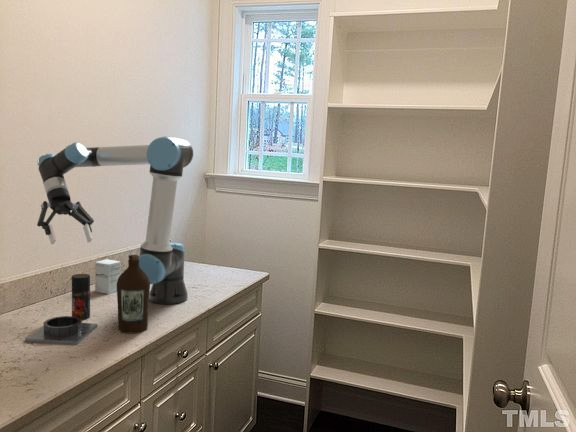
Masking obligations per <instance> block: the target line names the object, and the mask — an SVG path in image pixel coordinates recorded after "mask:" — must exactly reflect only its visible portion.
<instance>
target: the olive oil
mask: <svg viewBox="0 0 576 432" xmlns="http://www.w3.org/2000/svg"><path fill="white" fill-rule="evenodd" d="M127 264H128V267H127V268H126V269H125V270H124V271H123V272H122V273H120V276H119V278H118V281H117V292H116V298H117V299H116V300H117V325H118V328H117V329H118V331H119V332H121V333H126V334H137V333H142V332H145V331H146V330H147V329H148V326H149V324H148V323H149V307H150V306H149V304H150V300H149V293H150V290H151V284H150V281H149V278H148V276H147V275H146V273H145V272H144V271H143V270H142V269H141V268H140V267H139V255H138V254H130V255H128V263H127Z"/></svg>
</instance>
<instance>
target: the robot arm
mask: <svg viewBox="0 0 576 432" xmlns="http://www.w3.org/2000/svg"><path fill="white" fill-rule="evenodd" d="M193 158H194V149H193V147H192V145H191V143H190V142H189V141H188V140H186V139H185V138H181V137H174V136H173V137H172V136H161V137H157V138H155V139H154V140H152V141H151V142H150V143H149V144H143V145H142V144H141V145H123V146H121V145H120V146H117V145H116V146H101V147H99V146H98V147H97V146H96V147H85V145H83V144H82V143H80V142H76V141H75V142H73V143H71V144H68V145H67V146H66V147H65V148H64V149H61V150H60V151H59V152H58V153H56V154H54V153H46V154H42V155H41V156H39V158H38V159H39V163H38V162H37V167H38V166H39V167H38V172H39V173H40V177H41V179H42V183H43V187H44V190H45V194H46V197H47V201H46V200H44V201H43V202H42V203H41V204H40V205H41V206H40V207H41V211H40V214H39V217H38V221H37V223H36V226H37V227H41V229H42V230H44V233H45V235H46V236H48V237H49V238H48V240H49V242H50V245H54V244H55V243H56V242H57V238H56V234H55V232H54V228H53V225H52V223H51V222H52V220H53V219H54V217H55V216H56V214H57V215H60V216H62V215H68V216H70V217H72V218H73V219H75V220H76V221H77V222H78V223H80V224H81V225H82V226H83V227H82V230H83V232H84V235H85V238H86V241H87V243H91V241H92V240H93V238H94V237H93V235H92V232H93V229H92V225H93V224H94V222H95V219H94V218H93V217H92V216H91V215H90V214H89V213H88V211H87V210H86V209H84V207H83V206H82V204H81V201H77V202H72V201H71V195H70V192H69V190H68V186H67V182H66V179H65V177H64V175H65V174H67V173H68V172H70V171H71V170H73V169H74V168H75V169H76V168H84V167H88V168H89V167H93V168H95V167H108V166H139V165H143V166H144V165H149V174H150V175H151V176H152V185H151V193H150V201H149V202H150V203H149V210H148V211H149V212H148V218H147V224H146V225H147V226H146V233H145V234H146V235H145V241H144V242H142V243H141V244H140V248H139V255H138V256H139V267H140V268H141V269H142V270H143V271H144V272H145V273H146V275H147V276H148V278H149V281H150V285H151V286H150V293H149V302H152V303H155V304H161V305H172V304H173V305H174V304H180V303H183V302H186V301H187V300H188V295H189V294H188V293H189V292H188V290H187V289H188V288H187V287H186V284H185V280H184V279H185V278H184V275H185V272H184V271H185V252H186V251H185V246H184V244H182V243H179V242H171V240H170V239H171V232H172V225H173V224H172V222H173V215H174V209H175V202H176V201H175V200H176V192H177V186H178V180H180V179H181V178H182V177H183V172H184V168H186V167H187V166H189V165H190V164H191V163H192V161H193ZM49 208H50V209H51V210H52V212H51V213H50V215H49V216H48V218H47V219H46V220H45V217H46V215H47V211H48V209H49ZM50 223H51V224H50Z"/></svg>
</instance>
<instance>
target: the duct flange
mask: <svg viewBox="0 0 576 432" xmlns="http://www.w3.org/2000/svg"><path fill="white" fill-rule="evenodd" d="M82 321H83V320H81V318H78V317H75V316H72V315H61V316H56V317H52V318H48V319H46V320H45V321H44V322H43V325H42V326H41V327H40V328H38V329H37V330H35V331H33V332H32V333H31V334H30V335H28V336H26V337H25V338H24V342H25V343H38V344H39V343H41V344H42V343H43V344H54V345H55V344H58V345H72V346H73V345H76V346H77V345H78V344H79V343H80V342H82V341H83V340H84V339H86V337H88V335H89V334H91V333H92V332H93V331H94V330H95V329H97V328H98V323H91V322H82Z"/></svg>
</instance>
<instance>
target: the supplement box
mask: <svg viewBox="0 0 576 432" xmlns="http://www.w3.org/2000/svg"><path fill="white" fill-rule="evenodd" d="M121 265H122V263H121V261H118V260H112V259H107V258H106V259H103V260H98V261H95V263H94V266H95V267H94V270H95V271H94V292H95V293H100V294H101V293H102V294H107V295H111V294H113V293H114V294H115V293H117V281H118V278H119V276H120V275H121Z"/></svg>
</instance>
